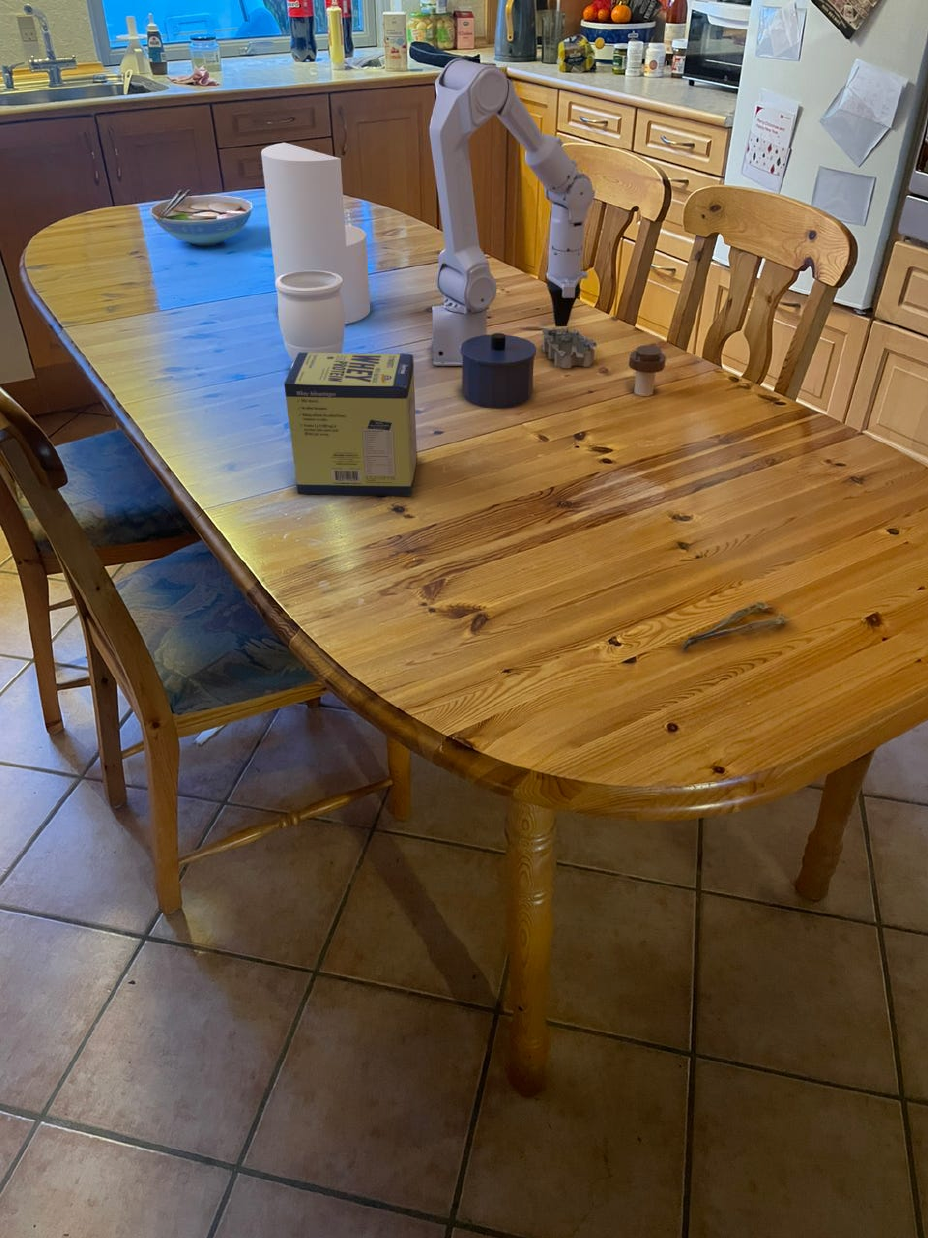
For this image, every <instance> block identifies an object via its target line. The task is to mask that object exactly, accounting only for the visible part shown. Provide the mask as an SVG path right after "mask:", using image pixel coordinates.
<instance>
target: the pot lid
mask: <svg viewBox="0 0 928 1238" xmlns="http://www.w3.org/2000/svg"><path fill="white" fill-rule="evenodd" d="M460 353H461V355H462V356H463V357H464V358H466V359H467V360H469V361H472V362H475V363H479V364H483V365H491V366H508V365H516V364H520V363H524V362H527V361H529V360H531V359H532V358H533V357H534V358H535V356H536V355H537V346H536V345H535V343H533V342H532V341H530V340H528V339H526V338H523V337H521V336H516V335H510V334H505V333H503V332H494V333H491V334H487V335H482V336H477V337H473V338H470V339H468V340H466V341H465V342H463V343H462V344H461V346H460Z"/></svg>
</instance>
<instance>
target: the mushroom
mask: <svg viewBox="0 0 928 1238" xmlns="http://www.w3.org/2000/svg"><path fill="white" fill-rule="evenodd" d="M666 362H667V356H666V355H665V353H663V351H662V349H661V348H660V347H658V346H655V345H639V346H637V347H635V350H634V351H632V352H631V353H629V361H628V366H629V368H630V369H631V370H633V371H635V378H634V379H635V380H634V387H633V388H634V389H633V393H634V394H635V395H637V396H641V397H649V396H652V395H653V394H654V388H655V380H656V373H659V372H662V371H664V370H665V368H666Z"/></svg>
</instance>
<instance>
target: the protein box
mask: <svg viewBox="0 0 928 1238" xmlns="http://www.w3.org/2000/svg"><path fill="white" fill-rule="evenodd" d="M414 367H415V366H414V355H413V354H411V353H350V352H349V353H348V352H347V353H345V352H344V353H300V352H299V353H298V355H297V357H296V359H295V362H294V364H293V366H292V368H291V367H290V370H289V373H288V375H287V377H286V379H285V381H284V383H283V385H284V392H285V400H286V401H285V402H286V409H287V410H286V411H287V417H288V427H289V433H290V442H291V451H292V458H293V459H292V460H293V465H294V466H293V467H294V477H295V484H296V493H297V494H298V495H337V496H338V495H339V496H340V495H341V496H384V497H386V496H387V497H410V496H412V494H413V487H414V482H415V476H416V470H417V463H418V448H417V428H416V427H417V423H416V422H417V421H416V395H415V394H416V393H415V370H414V369H415V368H414ZM297 494H296V495H297Z"/></svg>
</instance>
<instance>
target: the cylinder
mask: <svg viewBox="0 0 928 1238" xmlns="http://www.w3.org/2000/svg"><path fill="white" fill-rule="evenodd" d="M260 155H261V157H260V158H261V164H262V172H263V173H262V175H263V183H264V191H265V200H266V208H267V209H266V210H267V217H268V226H269V227H268V228H269V236H270V243H271V244H270V245H271V252H272V262H273V270H274V277H275V279H274V280H276V279H277V278H278V277H279V276H281V275H284V274H287V273H291V272H296V271H307V270H317V271H327V272H331V273H335V274H337V275H339V276H340V277H341V278H342V287H341V288H340V289H339V291H340V293H341V297H342V300H343V305H344V312H345V325H349V324H353V323H356V322H359V321H361V320H363V319H365V318H366V317H367V316H368V315H369V314H370V313H371V298H370V296H371V295H370V278H369V262H368V260H369V259H368V243H367V232H366V231H365V230H364V229H362V228H360V227H359V226H355V225H351V224H346V217H345V207H344V206H345V204H344V190H343V175H342V162H341V161H342V159H341V158H340V157H336V156H332V155H329V154H326V153H323V152H318V151H316V150H312V149H309V148H305V147H301V146H297V145H294V144H291V143H287V142H281V143H276V144H272V145H267V146H266V147H264V148H262V149H261V152H260ZM279 293H280V292H279V291H278V290H277V289H276V296H277V300H278V299H279Z"/></svg>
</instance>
